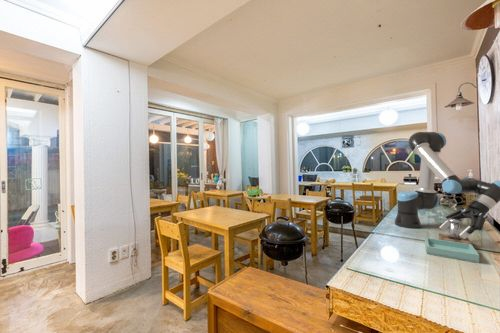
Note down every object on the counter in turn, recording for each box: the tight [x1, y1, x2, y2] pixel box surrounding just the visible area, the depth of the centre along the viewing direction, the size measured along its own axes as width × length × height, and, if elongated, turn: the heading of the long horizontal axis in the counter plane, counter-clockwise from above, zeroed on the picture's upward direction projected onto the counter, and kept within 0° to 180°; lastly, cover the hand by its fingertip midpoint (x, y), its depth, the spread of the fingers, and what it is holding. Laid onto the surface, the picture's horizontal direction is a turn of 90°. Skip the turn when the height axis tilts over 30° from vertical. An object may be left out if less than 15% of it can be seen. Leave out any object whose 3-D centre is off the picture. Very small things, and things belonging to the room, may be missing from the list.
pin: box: [448, 218, 463, 240], centre depth 123 cm, size 6×6×13 cm
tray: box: [424, 237, 480, 264], centre depth 111 cm, size 18×16×4 cm
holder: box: [438, 233, 474, 247], centre depth 123 cm, size 12×12×3 cm
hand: (451, 232), depth 123 cm, fingers open, 13 cm apart
